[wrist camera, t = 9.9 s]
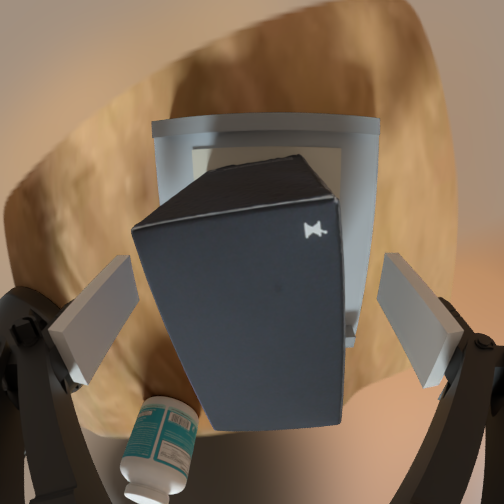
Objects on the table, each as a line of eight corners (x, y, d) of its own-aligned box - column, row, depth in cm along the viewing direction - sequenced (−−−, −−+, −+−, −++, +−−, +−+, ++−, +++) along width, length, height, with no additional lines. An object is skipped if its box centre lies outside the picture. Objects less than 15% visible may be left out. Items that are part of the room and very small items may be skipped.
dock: (189, 312, 26) (176, 345, 22) (168, 122, 19) (143, 122, 15) (348, 313, 25) (359, 346, 21) (364, 120, 18) (387, 119, 14)
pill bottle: (146, 418, 34) (118, 499, 22) (140, 387, 31) (102, 479, 19) (200, 431, 34) (181, 517, 22) (201, 401, 31) (177, 502, 19)
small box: (197, 170, 18) (115, 224, 8) (304, 152, 17) (348, 184, 7) (232, 314, 22) (208, 436, 12) (321, 303, 21) (348, 426, 11)
